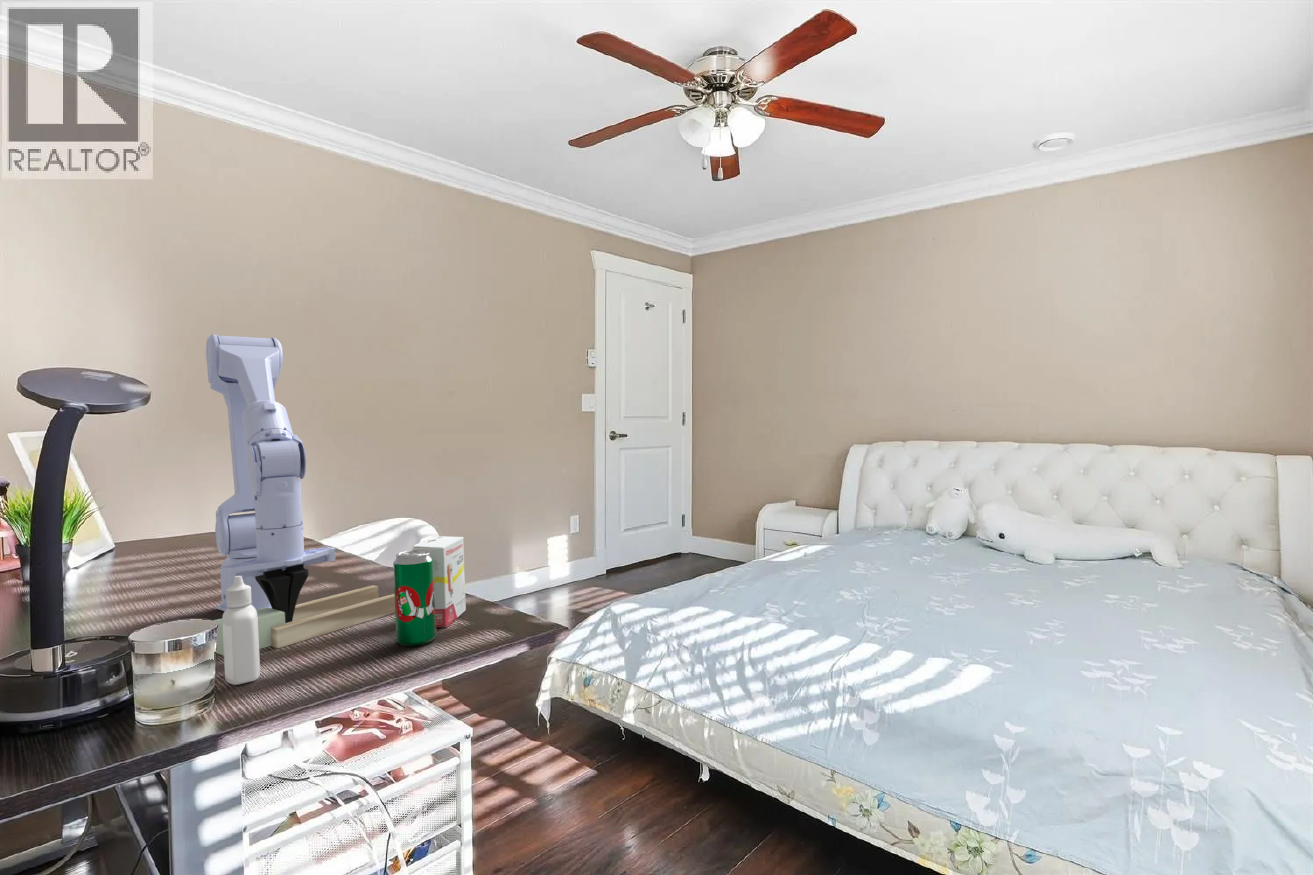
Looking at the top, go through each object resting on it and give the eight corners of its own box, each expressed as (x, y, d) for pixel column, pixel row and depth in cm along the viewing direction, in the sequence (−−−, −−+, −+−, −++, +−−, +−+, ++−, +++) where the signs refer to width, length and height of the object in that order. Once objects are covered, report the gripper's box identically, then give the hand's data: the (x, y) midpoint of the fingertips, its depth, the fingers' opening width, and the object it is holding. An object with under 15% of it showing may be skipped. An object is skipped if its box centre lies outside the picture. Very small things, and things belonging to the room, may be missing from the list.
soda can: (426, 632, 89) (423, 547, 89) (443, 640, 86) (439, 552, 85) (390, 641, 86) (386, 553, 85) (406, 651, 82) (402, 559, 82)
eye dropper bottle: (210, 688, 72) (204, 583, 72) (233, 669, 78) (229, 571, 77) (252, 684, 73) (247, 581, 72) (272, 666, 78) (268, 569, 78)
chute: (243, 636, 90) (242, 618, 90) (373, 599, 106) (372, 585, 106) (277, 648, 84) (277, 629, 84) (409, 608, 101) (408, 592, 101)
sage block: (211, 651, 84) (210, 621, 84) (267, 634, 90) (266, 607, 90) (229, 658, 81) (228, 627, 81) (286, 641, 87) (284, 612, 87)
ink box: (446, 628, 91) (443, 546, 90) (413, 628, 91) (409, 546, 91) (467, 610, 99) (465, 535, 99) (436, 610, 100) (433, 535, 99)
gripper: (236, 537, 81) (241, 642, 81) (345, 519, 93) (349, 611, 94) (211, 532, 85) (216, 633, 85) (318, 516, 97) (322, 604, 97)
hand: (284, 621), depth 90 cm, fingers closed
